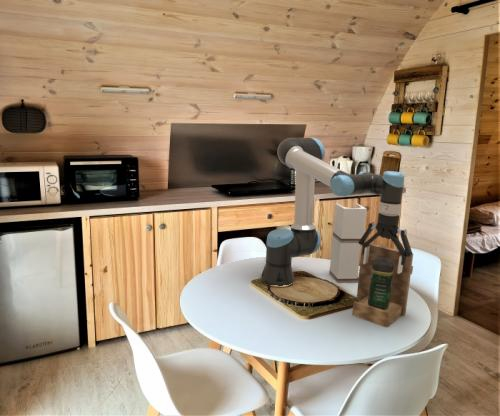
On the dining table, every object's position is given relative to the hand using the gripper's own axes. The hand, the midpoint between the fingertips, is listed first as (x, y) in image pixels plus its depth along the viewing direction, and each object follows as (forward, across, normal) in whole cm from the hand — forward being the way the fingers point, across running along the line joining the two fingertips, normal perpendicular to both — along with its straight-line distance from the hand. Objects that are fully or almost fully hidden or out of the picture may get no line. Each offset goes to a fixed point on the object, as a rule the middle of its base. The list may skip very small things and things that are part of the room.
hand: (382, 267), depth 167 cm
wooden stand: (+19, -1, +1) cm, 19 cm away
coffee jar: (+15, 0, 0) cm, 15 cm away
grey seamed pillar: (+20, -27, +26) cm, 42 cm away
